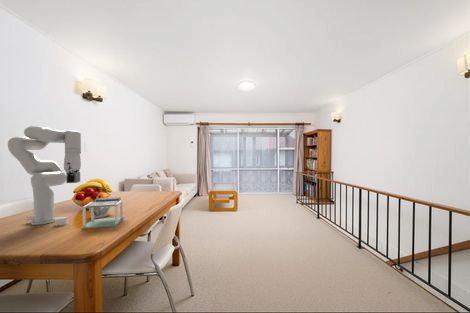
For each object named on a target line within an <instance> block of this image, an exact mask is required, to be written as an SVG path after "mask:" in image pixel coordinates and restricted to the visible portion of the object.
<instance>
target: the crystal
mask: <svg viewBox="0 0 470 313" xmlns="http://www.w3.org/2000/svg"><path fill="white" fill-rule="evenodd" d="M97 199H99V195H97V196H96V198H95V199H94V201H93V202H96V200H97ZM111 207H112V206H110V207H94V219H101V218H106V217H107V216H109V213H108V212H109V210H110V209H111ZM88 211H89V213H91V208H88Z"/></svg>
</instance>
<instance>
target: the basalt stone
mask: <svg viewBox="0 0 470 313" xmlns="http://www.w3.org/2000/svg"><path fill="white" fill-rule="evenodd" d="M71 173H72V171H71ZM65 175H66V182H65V183H66V184H77V183H80V182H81V172H80V171H79V172H74V174H73V175H74V182H67V173H65Z"/></svg>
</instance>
